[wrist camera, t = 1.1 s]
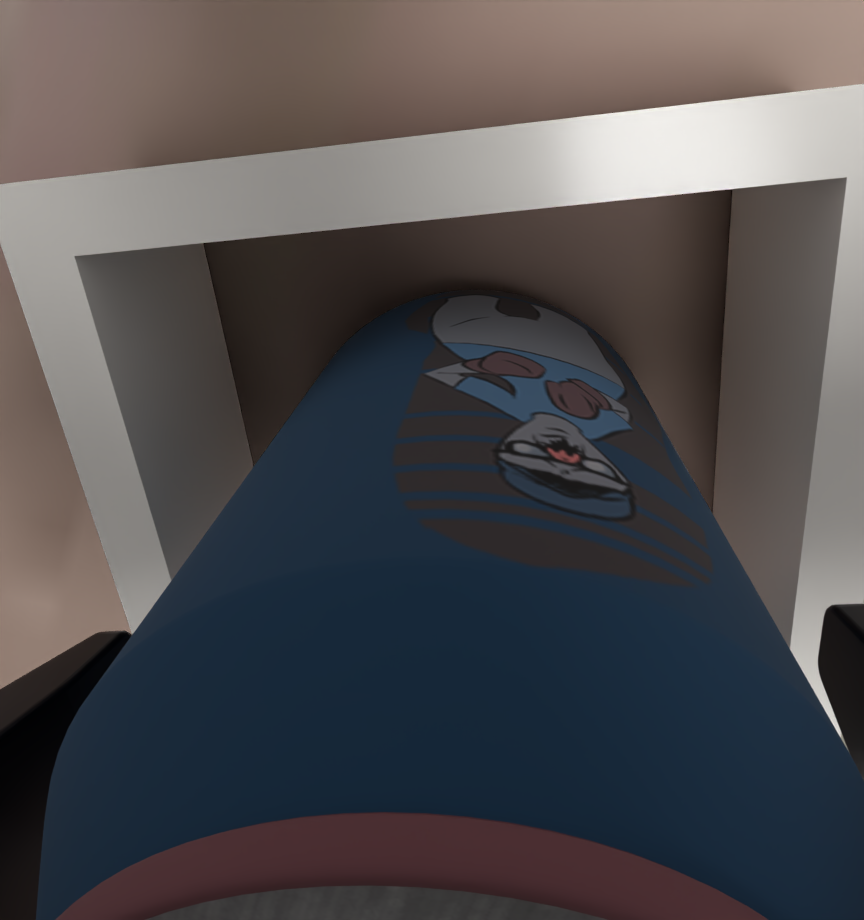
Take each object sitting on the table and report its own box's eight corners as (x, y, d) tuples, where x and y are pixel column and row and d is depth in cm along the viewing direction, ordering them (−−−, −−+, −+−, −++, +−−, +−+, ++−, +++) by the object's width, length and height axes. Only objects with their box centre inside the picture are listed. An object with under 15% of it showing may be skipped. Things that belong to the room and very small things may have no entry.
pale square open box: (747, 655, 17) (826, 819, 13) (261, 670, 18) (195, 822, 14) (798, 94, 12) (952, 73, 8) (135, 171, 14) (-19, 186, 10)
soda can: (382, 605, 17) (193, 1403, 6) (264, 338, 15) (-381, 905, 4) (672, 535, 16) (1058, 1403, 5) (596, 226, 13) (1045, 622, 2)
